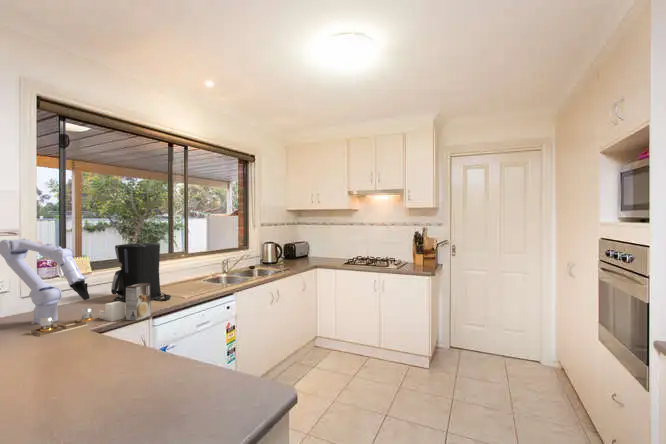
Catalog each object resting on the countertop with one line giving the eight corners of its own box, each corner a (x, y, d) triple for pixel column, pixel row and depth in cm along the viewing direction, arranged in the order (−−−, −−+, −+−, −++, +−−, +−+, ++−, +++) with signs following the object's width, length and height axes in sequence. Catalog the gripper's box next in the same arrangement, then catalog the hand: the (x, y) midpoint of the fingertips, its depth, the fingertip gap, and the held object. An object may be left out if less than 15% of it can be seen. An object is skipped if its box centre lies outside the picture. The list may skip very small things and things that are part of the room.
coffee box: (140, 315, 167) (139, 282, 167) (151, 315, 166) (151, 283, 166) (125, 320, 158) (125, 286, 158) (137, 321, 157) (136, 287, 157)
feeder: (98, 319, 160) (97, 302, 160) (111, 316, 165) (111, 299, 165) (111, 322, 155) (111, 305, 155) (124, 319, 160) (124, 302, 160)
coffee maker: (124, 295, 211) (123, 242, 211) (178, 293, 216) (178, 241, 216) (105, 304, 189) (105, 244, 189) (166, 301, 194) (166, 243, 194)
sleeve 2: (79, 322, 154) (79, 309, 154) (89, 319, 158) (89, 307, 158) (84, 323, 153) (84, 310, 153) (94, 320, 156) (94, 308, 156)
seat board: (28, 335, 138) (28, 329, 138) (75, 323, 153) (75, 318, 153) (41, 339, 133) (41, 333, 133) (88, 327, 148) (88, 322, 148)
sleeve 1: (38, 332, 138) (38, 318, 138) (50, 329, 142) (50, 315, 142) (43, 334, 137) (43, 319, 137) (55, 331, 140) (55, 316, 140)
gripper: (79, 264, 149) (94, 291, 148) (84, 271, 161) (97, 296, 160) (60, 272, 145) (75, 299, 144) (66, 278, 157) (80, 303, 156)
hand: (85, 298), depth 152 cm, fingers open, 7 cm apart
